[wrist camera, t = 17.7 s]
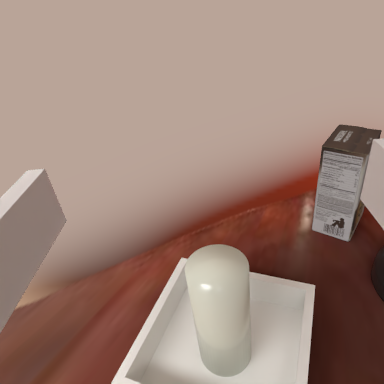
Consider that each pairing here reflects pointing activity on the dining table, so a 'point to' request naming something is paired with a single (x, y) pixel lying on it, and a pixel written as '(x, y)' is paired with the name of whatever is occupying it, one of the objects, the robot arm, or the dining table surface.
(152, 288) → the dining table surface
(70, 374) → the dining table surface
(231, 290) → the canister
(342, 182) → the coffee box
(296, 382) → the tote
